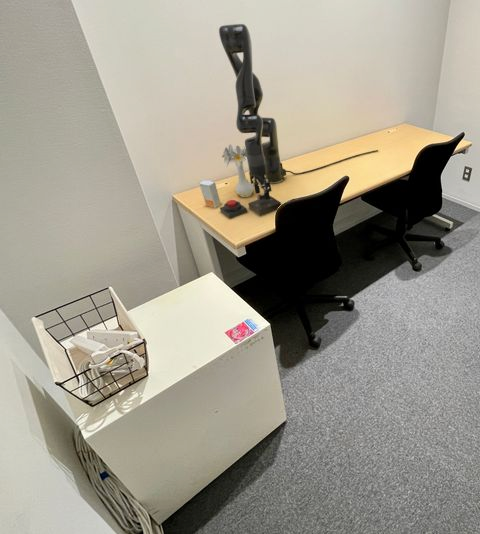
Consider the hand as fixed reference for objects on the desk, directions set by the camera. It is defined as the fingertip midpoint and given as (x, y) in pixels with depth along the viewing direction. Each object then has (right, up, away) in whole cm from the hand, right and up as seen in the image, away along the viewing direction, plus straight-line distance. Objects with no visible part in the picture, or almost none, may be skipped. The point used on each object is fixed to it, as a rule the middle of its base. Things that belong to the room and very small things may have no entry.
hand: (262, 196), depth 155 cm
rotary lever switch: (0, -5, +4) cm, 7 cm away
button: (-14, -5, -1) cm, 15 cm away
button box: (-14, -7, +1) cm, 16 cm away
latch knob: (0, -3, +2) cm, 4 cm away
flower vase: (-14, +4, +15) cm, 21 cm away
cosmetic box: (-26, -3, +6) cm, 27 cm away
